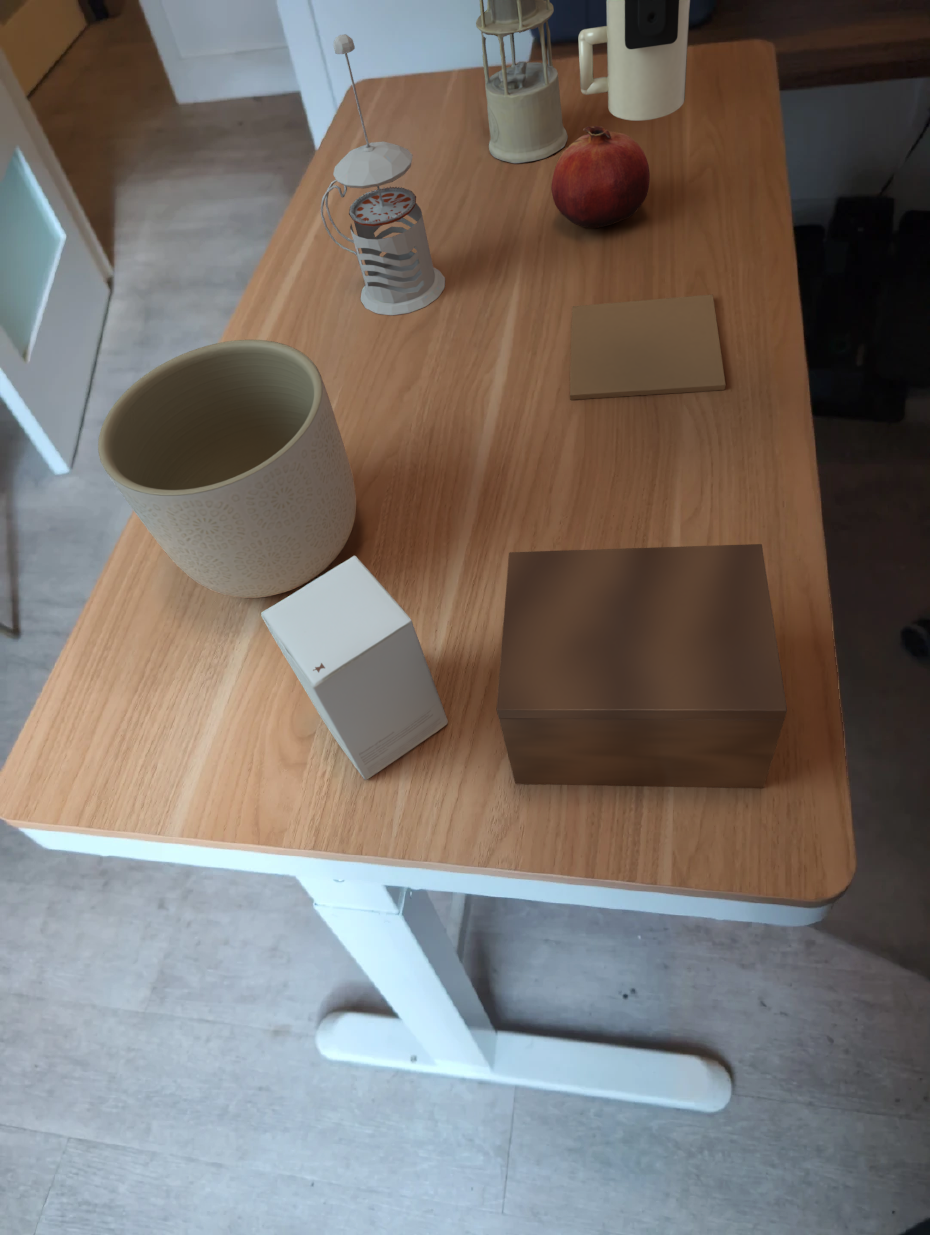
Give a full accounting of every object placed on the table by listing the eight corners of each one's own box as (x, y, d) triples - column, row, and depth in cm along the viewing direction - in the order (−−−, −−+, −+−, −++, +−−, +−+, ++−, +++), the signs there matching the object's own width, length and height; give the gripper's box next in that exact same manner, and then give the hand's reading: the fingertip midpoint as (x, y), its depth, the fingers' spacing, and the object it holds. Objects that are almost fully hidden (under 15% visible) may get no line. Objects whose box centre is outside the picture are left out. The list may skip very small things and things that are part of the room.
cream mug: (682, 81, 59) (690, -99, 51) (687, 115, 56) (697, -70, 48) (581, 95, 60) (574, -79, 52) (581, 128, 57) (573, -50, 49)
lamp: (477, 163, 108) (435, -138, 85) (511, 115, 115) (480, -176, 91) (553, 164, 105) (531, -148, 81) (583, 115, 111) (571, -187, 88)
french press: (434, 314, 90) (379, 54, 70) (334, 316, 93) (254, 66, 73) (453, 262, 95) (407, 7, 75) (358, 266, 98) (289, 20, 78)
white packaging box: (452, 724, 60) (416, 621, 50) (364, 784, 58) (308, 690, 48) (399, 658, 64) (356, 551, 54) (316, 712, 62) (255, 611, 52)
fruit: (547, 245, 94) (540, 155, 86) (562, 199, 100) (556, 109, 92) (643, 244, 91) (644, 150, 83) (653, 196, 97) (655, 103, 89)
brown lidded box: (744, 634, 60) (761, 543, 52) (763, 788, 53) (787, 710, 45) (523, 637, 63) (508, 551, 55) (515, 783, 56) (496, 710, 48)
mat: (712, 299, 84) (713, 294, 83) (725, 390, 76) (725, 384, 75) (572, 311, 86) (572, 306, 86) (570, 400, 78) (569, 395, 78)
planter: (332, 639, 66) (266, 506, 54) (151, 611, 71) (52, 484, 59) (399, 485, 75) (355, 342, 63) (234, 470, 80) (164, 334, 68)
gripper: (761, -417, 34) (721, 74, 48) (721, -447, 44) (697, -31, 58) (576, -375, 35) (591, 92, 50) (577, -412, 45) (589, -14, 60)
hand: (648, 22), depth 54 cm, fingers closed on cream mug, 5 cm apart
